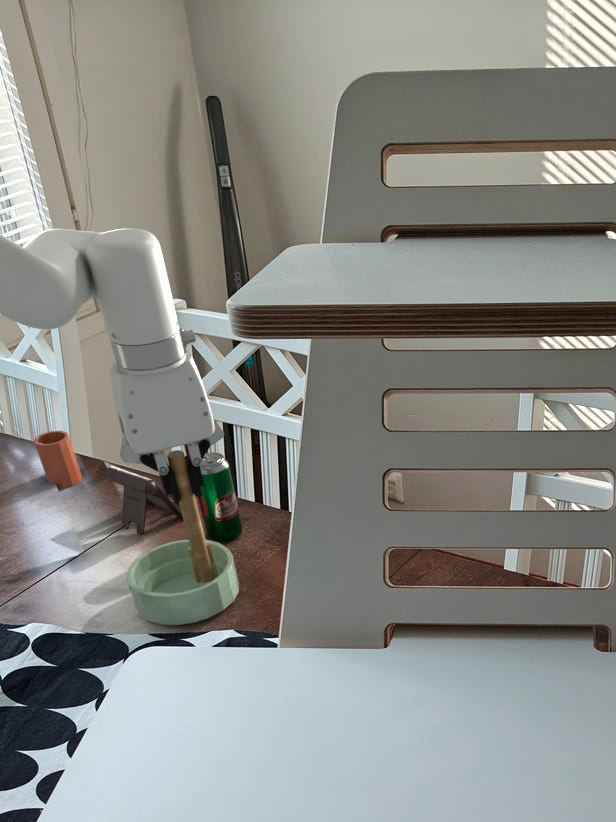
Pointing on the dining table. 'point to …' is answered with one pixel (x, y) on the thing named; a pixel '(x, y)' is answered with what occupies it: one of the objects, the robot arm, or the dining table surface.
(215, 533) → the soda can
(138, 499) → the tablet stand
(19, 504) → the dining table surface
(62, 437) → the crock
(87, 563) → the dining table surface
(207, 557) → the wooden dowel rod
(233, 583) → the bowl
